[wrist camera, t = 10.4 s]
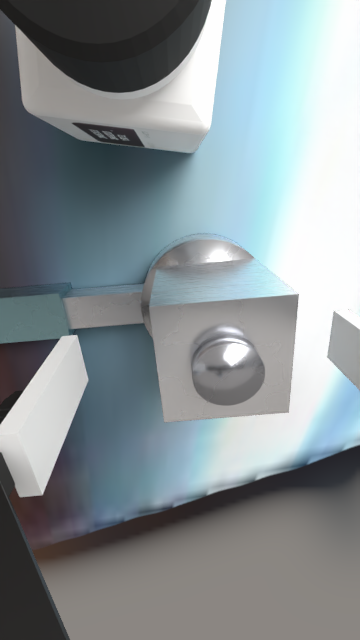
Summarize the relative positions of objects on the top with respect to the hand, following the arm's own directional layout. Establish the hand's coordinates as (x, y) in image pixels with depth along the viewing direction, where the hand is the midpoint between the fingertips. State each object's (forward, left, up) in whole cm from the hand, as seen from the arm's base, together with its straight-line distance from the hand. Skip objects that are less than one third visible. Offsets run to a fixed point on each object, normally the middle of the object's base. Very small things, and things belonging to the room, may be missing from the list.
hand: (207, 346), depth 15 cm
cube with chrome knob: (+1, 0, -6) cm, 6 cm away
